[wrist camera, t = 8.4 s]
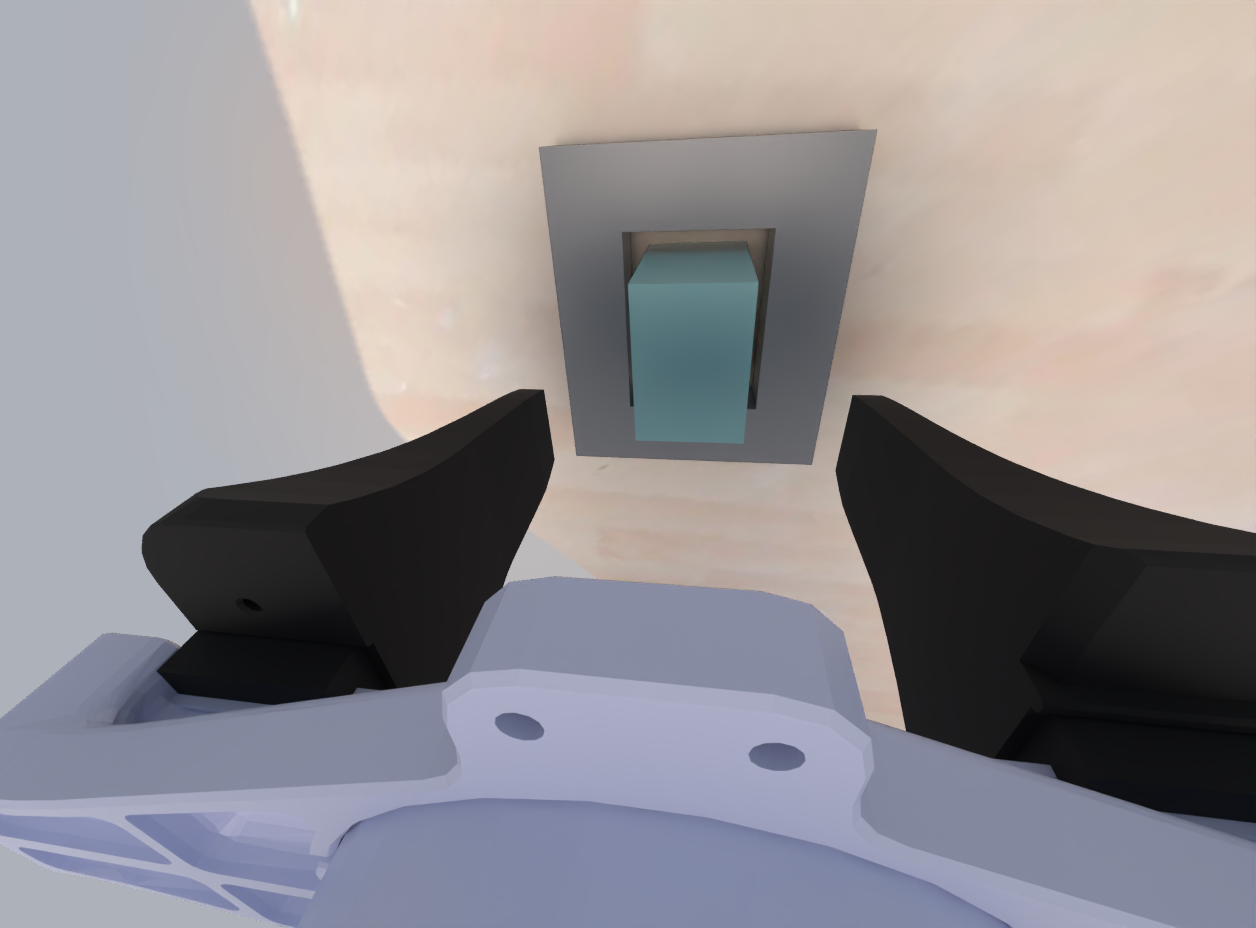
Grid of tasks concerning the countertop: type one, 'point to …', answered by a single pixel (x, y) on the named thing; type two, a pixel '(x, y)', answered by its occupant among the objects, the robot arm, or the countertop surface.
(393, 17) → the countertop surface
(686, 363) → the plug
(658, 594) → the robot arm
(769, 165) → the socket plate
